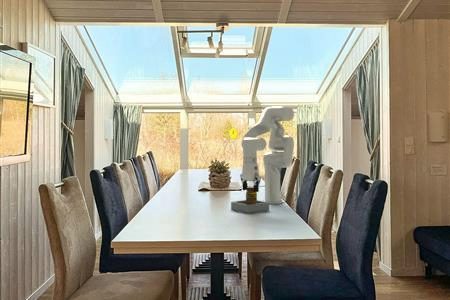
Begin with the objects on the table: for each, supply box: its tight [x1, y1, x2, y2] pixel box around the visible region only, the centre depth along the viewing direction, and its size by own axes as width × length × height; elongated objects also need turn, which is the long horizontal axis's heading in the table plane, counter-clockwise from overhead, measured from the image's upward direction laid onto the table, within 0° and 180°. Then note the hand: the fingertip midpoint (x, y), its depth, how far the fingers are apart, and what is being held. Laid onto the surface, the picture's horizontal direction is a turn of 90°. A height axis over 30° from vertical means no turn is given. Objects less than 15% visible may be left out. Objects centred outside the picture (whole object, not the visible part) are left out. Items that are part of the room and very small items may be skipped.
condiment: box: [245, 186, 258, 205], centre depth 226 cm, size 7×8×12 cm
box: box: [230, 199, 270, 214], centre depth 226 cm, size 15×15×4 cm
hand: (250, 191), depth 226 cm, fingers open, 9 cm apart
